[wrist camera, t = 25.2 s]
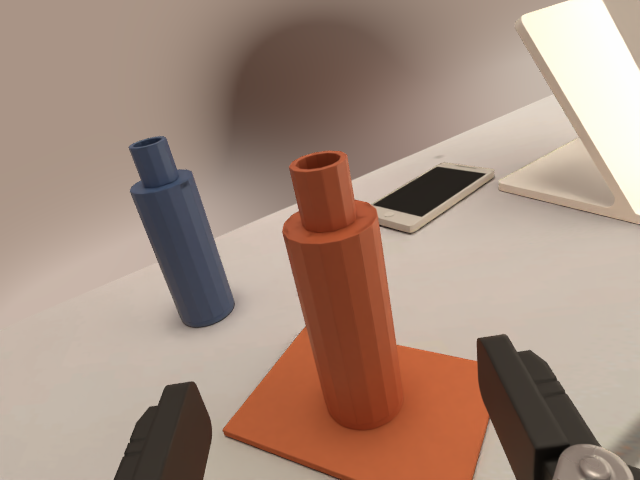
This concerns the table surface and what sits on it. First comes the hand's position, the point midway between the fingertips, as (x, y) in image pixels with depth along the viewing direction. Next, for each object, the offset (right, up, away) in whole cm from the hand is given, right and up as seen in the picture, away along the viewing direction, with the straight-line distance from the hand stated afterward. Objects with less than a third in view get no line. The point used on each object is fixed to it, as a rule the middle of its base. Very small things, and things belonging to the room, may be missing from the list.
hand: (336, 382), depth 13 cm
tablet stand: (+34, +12, +36) cm, 51 cm away
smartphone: (+12, +9, +39) cm, 42 cm away
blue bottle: (-10, -2, +27) cm, 29 cm away
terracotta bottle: (+2, -5, +15) cm, 16 cm away
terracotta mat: (+2, -6, +15) cm, 16 cm away
